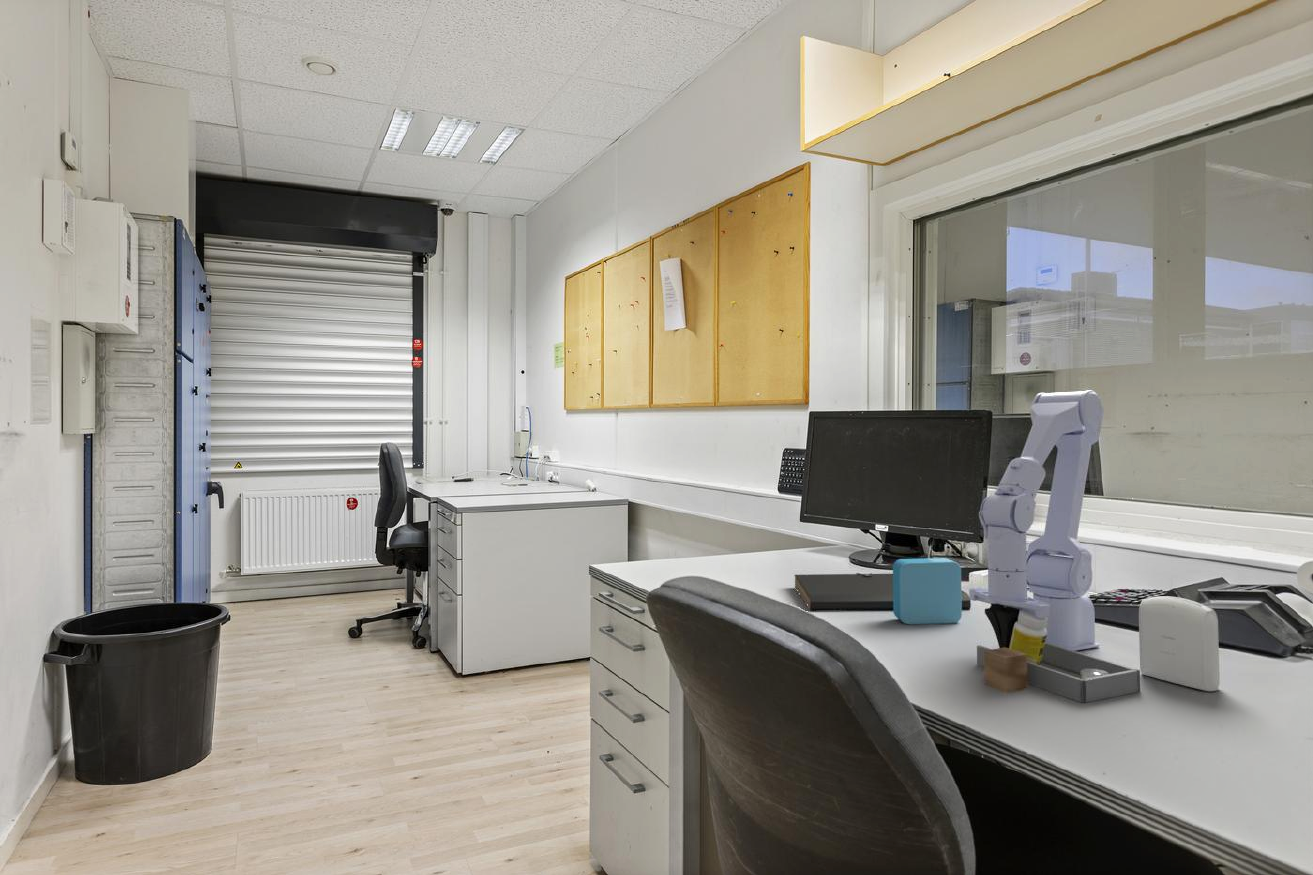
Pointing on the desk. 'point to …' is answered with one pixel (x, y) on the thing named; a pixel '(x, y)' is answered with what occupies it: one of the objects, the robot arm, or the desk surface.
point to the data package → (927, 591)
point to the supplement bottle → (1029, 636)
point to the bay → (1074, 688)
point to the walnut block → (1006, 669)
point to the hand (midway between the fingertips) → (1008, 653)
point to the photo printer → (1179, 642)
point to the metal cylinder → (1092, 673)
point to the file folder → (851, 591)
